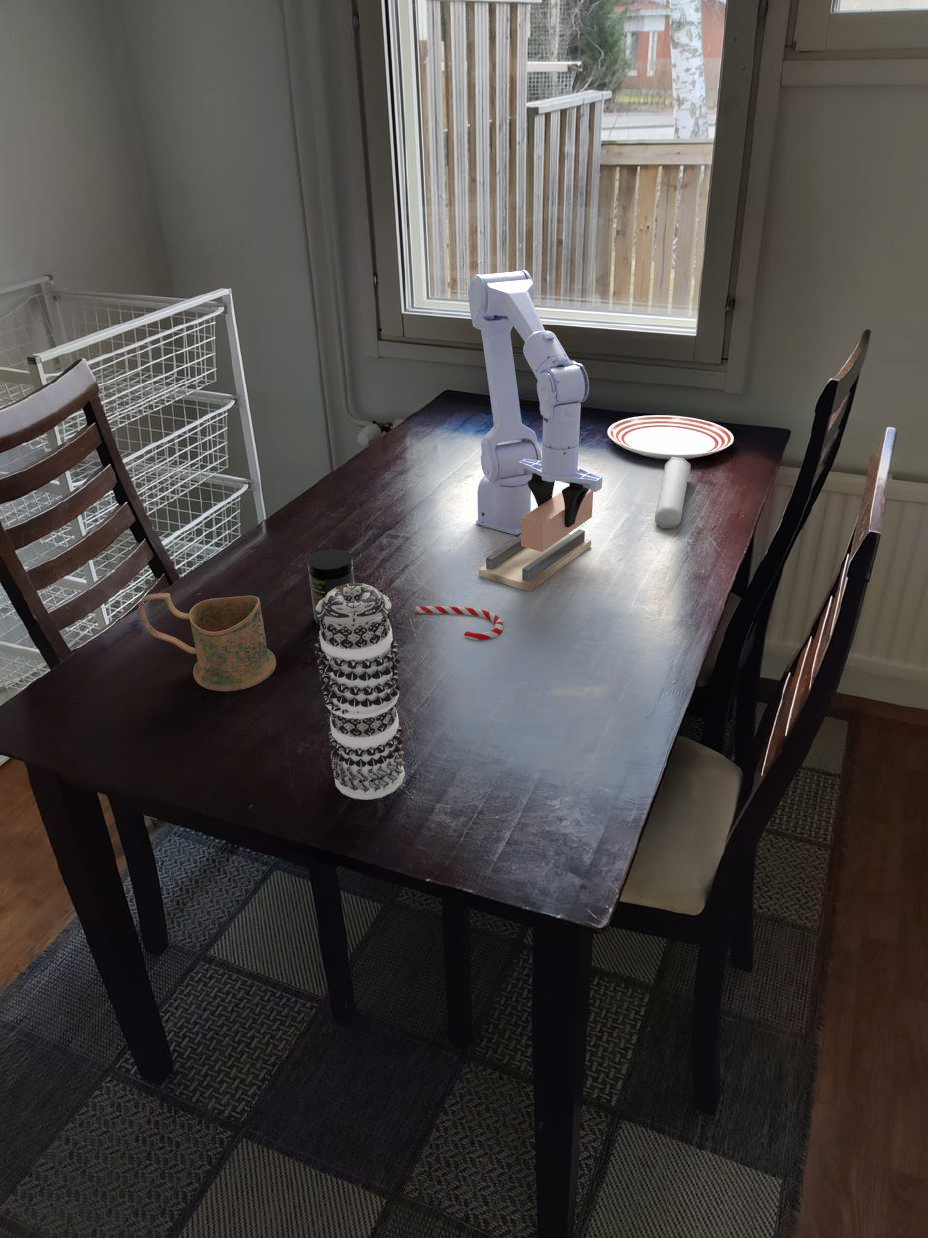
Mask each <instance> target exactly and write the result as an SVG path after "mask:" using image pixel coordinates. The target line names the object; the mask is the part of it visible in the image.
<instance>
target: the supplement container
mask: <svg viewBox="0 0 928 1238" xmlns="http://www.w3.org/2000/svg"><path fill="white" fill-rule="evenodd" d="M306 563H307V572H308V577H309V585H310V593H311V594H310V595H311V600H312V601H311V602H312V611H313V617H314V618H313V619H314V620H315V622H316V624H318V625H319V626H320V620H319V617H318V616H317V615H316V609H315V608H316V606H317V604H318V603H319V601H320V600H322V599H323V598H325V597H326V595H327V594H328V592H329V591H331V590H332V589H334V588H336V587H338V586H341V585H344V584H351V583H355V575H354V562H353V555H352V554H351V553H350V552H348V551H347V550H343V549H339V548H338V549H337V548H328V549H322V550H319V551H316V552H314V553H312V554H311V555H309V556H308V558H307V560H306Z"/></svg>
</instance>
